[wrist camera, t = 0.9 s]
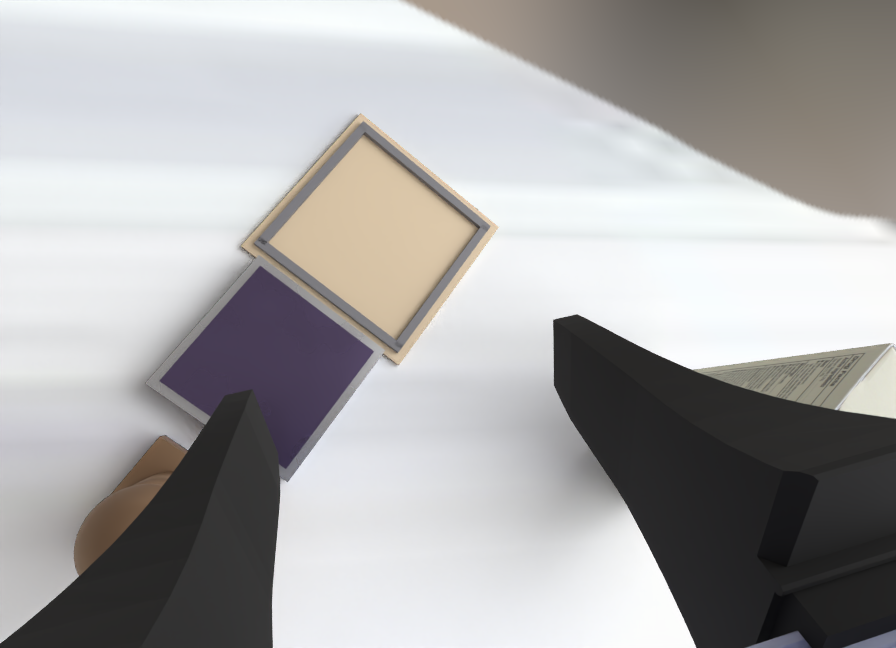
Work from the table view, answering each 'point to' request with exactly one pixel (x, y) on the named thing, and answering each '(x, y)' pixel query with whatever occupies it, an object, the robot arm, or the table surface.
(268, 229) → the beige square tile
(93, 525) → the stamp
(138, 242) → the table surface
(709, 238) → the table surface
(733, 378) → the skincare box
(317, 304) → the ink pad
